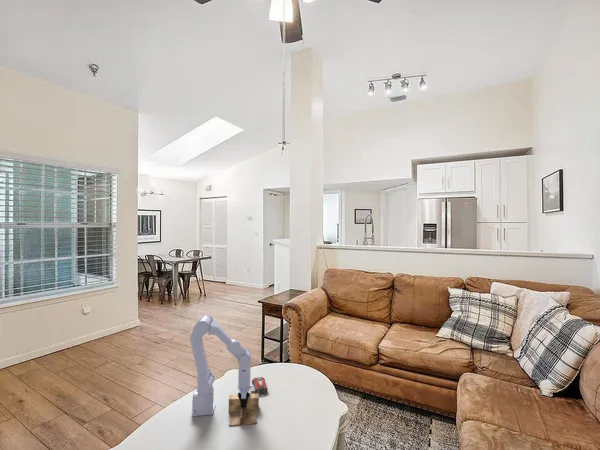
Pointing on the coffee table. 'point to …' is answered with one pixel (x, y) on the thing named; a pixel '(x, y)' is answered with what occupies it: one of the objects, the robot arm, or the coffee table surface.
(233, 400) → the oak bar
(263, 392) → the walkie-talkie
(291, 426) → the coffee table surface
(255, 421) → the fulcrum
